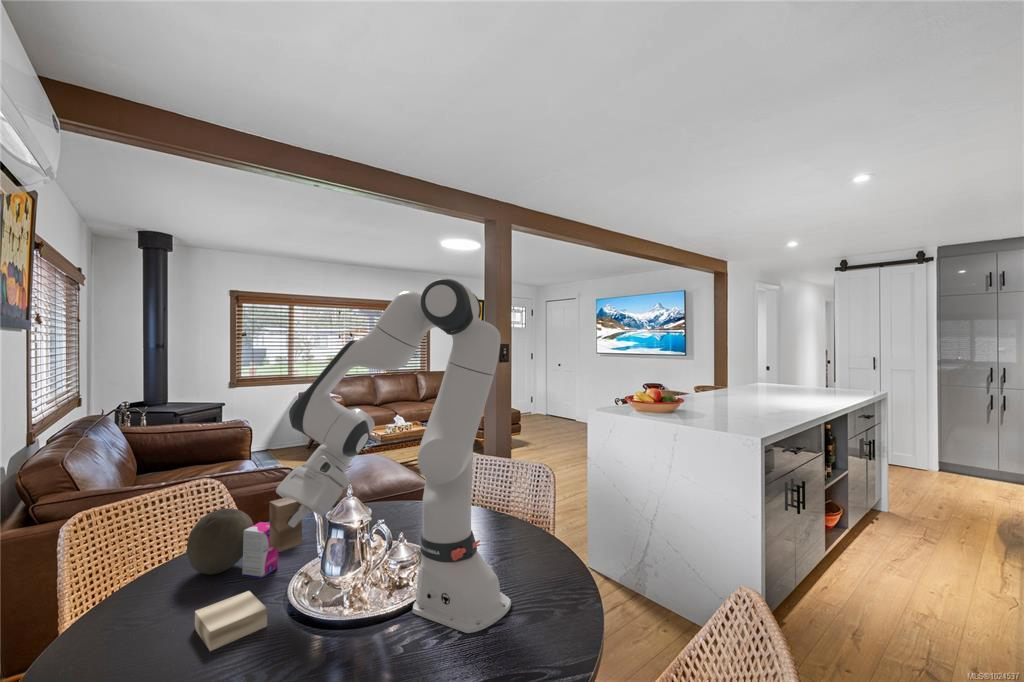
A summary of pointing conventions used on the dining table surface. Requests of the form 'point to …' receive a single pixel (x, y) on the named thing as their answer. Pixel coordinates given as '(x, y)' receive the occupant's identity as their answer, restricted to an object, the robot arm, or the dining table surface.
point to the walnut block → (284, 524)
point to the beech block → (230, 620)
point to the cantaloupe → (217, 540)
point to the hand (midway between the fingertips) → (283, 522)
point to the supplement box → (258, 551)
